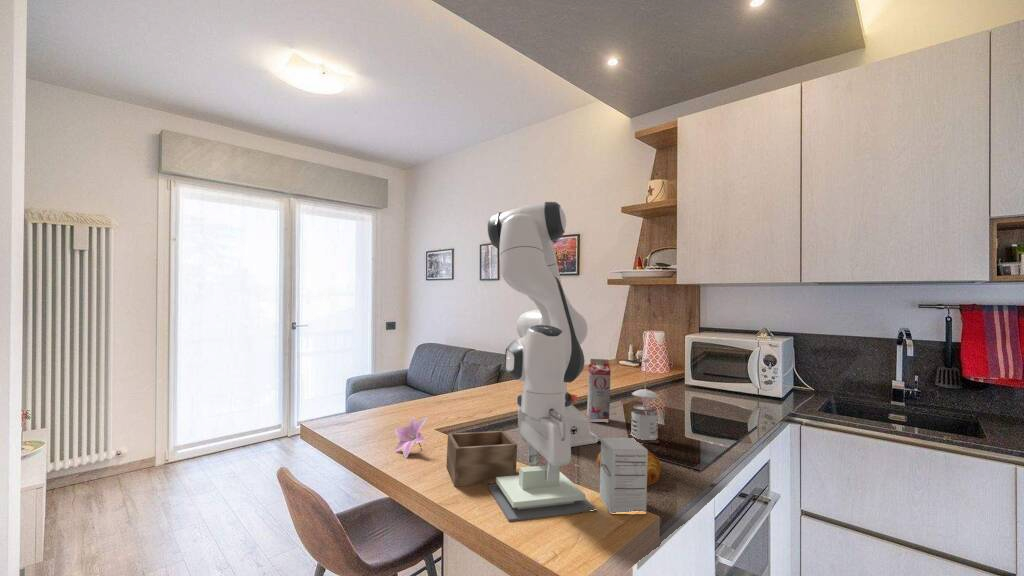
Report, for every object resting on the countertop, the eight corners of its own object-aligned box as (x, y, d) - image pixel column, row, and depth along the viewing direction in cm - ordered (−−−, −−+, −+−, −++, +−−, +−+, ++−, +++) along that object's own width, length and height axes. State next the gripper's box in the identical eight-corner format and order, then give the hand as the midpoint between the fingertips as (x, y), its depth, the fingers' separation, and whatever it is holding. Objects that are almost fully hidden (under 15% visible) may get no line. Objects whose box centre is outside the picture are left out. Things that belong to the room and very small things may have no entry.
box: (502, 463, 104) (503, 430, 105) (515, 480, 94) (517, 444, 94) (446, 467, 100) (447, 433, 101) (454, 486, 90) (455, 448, 90)
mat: (564, 480, 95) (564, 478, 95) (596, 510, 81) (596, 508, 81) (488, 487, 90) (488, 485, 90) (508, 521, 76) (508, 519, 76)
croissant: (629, 501, 91) (633, 466, 90) (585, 466, 105) (588, 436, 104) (676, 489, 98) (679, 456, 97) (629, 457, 111) (632, 428, 111)
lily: (394, 448, 116) (384, 423, 112) (431, 430, 119) (422, 406, 116) (401, 474, 106) (390, 448, 103) (441, 454, 109) (432, 429, 106)
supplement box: (598, 498, 87) (600, 436, 88) (633, 498, 87) (634, 437, 88) (609, 515, 80) (611, 448, 80) (647, 515, 80) (648, 448, 81)
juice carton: (609, 423, 147) (610, 360, 148) (590, 422, 147) (592, 359, 148) (605, 418, 154) (606, 358, 155) (587, 417, 154) (588, 357, 155)
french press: (626, 441, 127) (628, 358, 128) (630, 431, 138) (632, 355, 139) (660, 446, 123) (661, 361, 125) (661, 435, 134) (663, 357, 136)
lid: (559, 481, 94) (560, 455, 94) (585, 506, 82) (586, 476, 82) (495, 487, 89) (496, 460, 89) (512, 514, 78) (514, 483, 78)
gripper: (580, 416, 78) (578, 491, 77) (539, 393, 97) (537, 454, 96) (549, 417, 76) (546, 495, 75) (513, 394, 95) (511, 456, 95)
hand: (541, 471), depth 86 cm, fingers open, 8 cm apart
